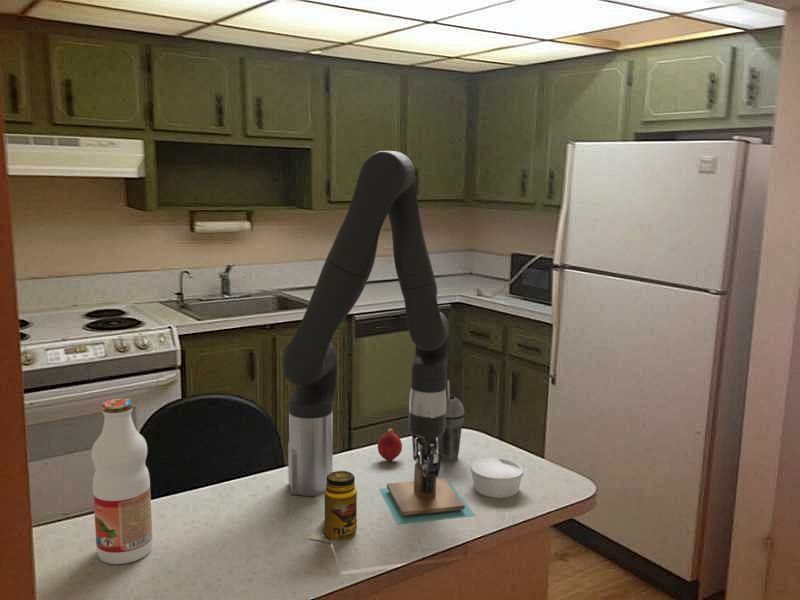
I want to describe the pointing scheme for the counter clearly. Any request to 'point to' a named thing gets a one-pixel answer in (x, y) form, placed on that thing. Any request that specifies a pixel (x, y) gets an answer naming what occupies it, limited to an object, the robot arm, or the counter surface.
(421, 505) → the lid
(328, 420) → the robot arm
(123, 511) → the fruit juice
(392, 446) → the pomegranate
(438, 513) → the mat
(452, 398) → the beverage cup
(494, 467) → the ramekin
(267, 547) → the counter surface
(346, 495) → the condiment
